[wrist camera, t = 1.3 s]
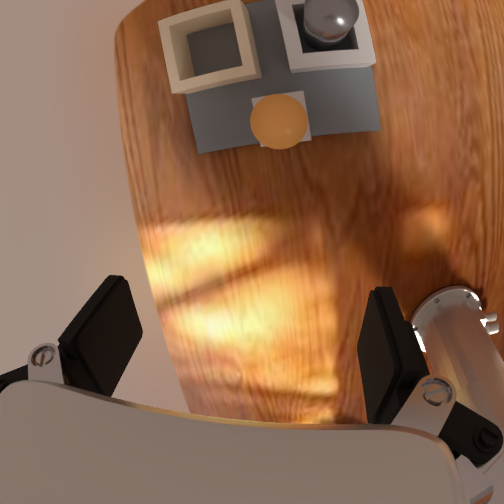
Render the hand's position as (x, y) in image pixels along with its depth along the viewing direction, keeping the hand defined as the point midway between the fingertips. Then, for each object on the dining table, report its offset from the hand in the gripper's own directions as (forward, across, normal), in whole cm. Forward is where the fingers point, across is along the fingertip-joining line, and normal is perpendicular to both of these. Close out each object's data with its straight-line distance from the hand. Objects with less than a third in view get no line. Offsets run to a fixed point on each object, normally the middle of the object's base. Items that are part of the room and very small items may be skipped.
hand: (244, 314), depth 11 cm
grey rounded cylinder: (+24, -5, -14) cm, 29 cm away
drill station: (+26, 0, -11) cm, 28 cm away
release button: (+21, -1, -5) cm, 22 cm away
